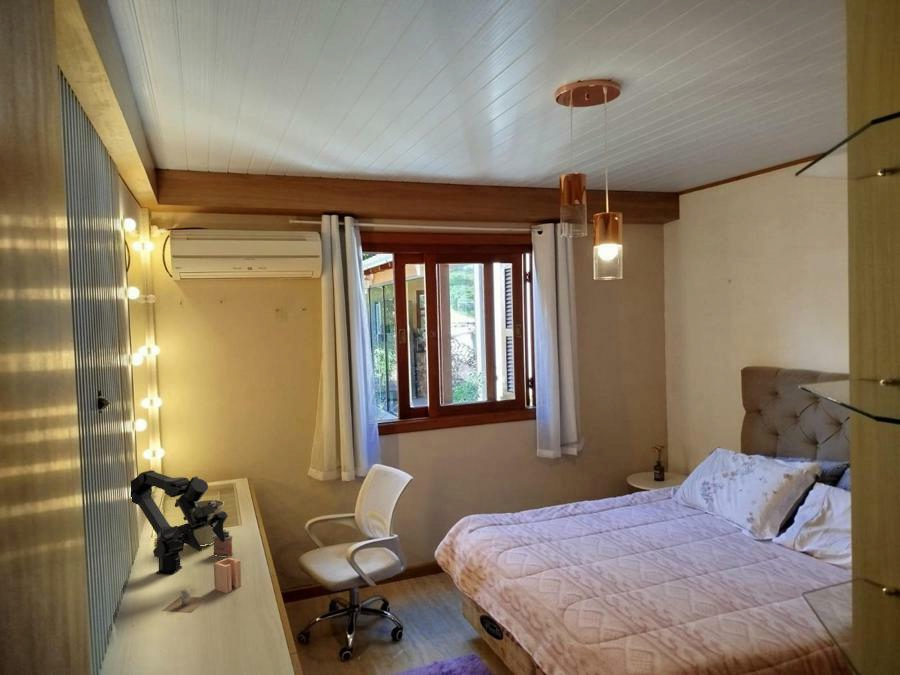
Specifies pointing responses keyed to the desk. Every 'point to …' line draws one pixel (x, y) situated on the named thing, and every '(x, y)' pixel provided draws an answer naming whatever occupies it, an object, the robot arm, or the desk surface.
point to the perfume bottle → (223, 545)
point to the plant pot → (207, 533)
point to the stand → (185, 603)
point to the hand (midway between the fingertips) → (212, 546)
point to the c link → (227, 574)
